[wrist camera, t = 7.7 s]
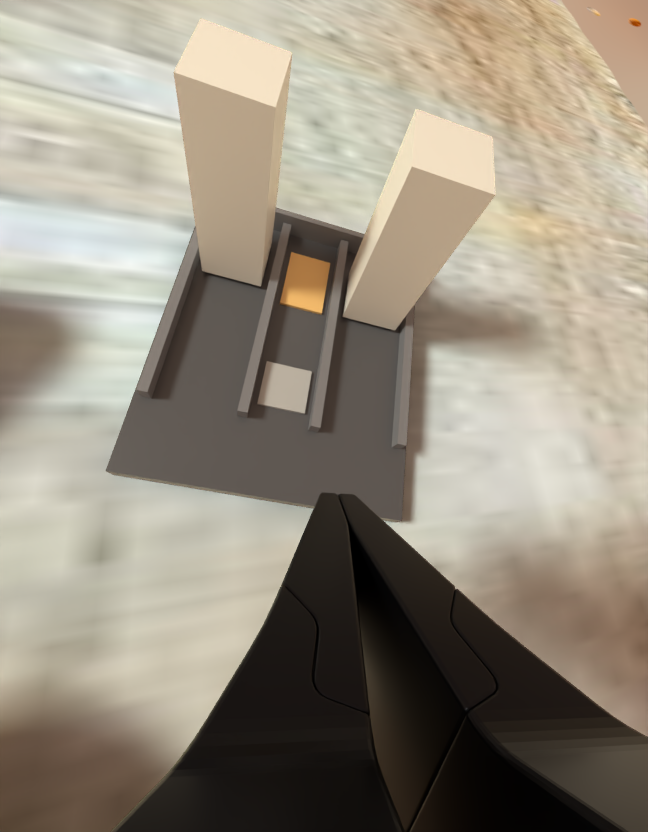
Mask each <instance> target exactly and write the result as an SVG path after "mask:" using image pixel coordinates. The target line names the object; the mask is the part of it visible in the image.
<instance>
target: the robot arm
mask: <svg viewBox="0 0 648 832" xmlns="http://www.w3.org/2000/svg"><path fill="white" fill-rule="evenodd" d="M111 832H648V737H647V736H645V735H643V734H641V733H639V732H638V731H636V730H634V729H632V728H630V727H629V726H627V725H626V724H624V723H623V722H621V721H620V720H618V719H616V718H615V717H613V716H612V715H611V714H609V713H608V712H607V711H605V710H604V709H603V708H601V707H600V706H599V705H597V704H596V703H595V702H594V701H592V700H591V699H590V698H589V697H587V696H586V695H585V694H584V693H582V692H581V691H580V690H579V689H577V688H576V687H575V686H574V685H572V684H571V683H570V682H569V681H567V680H566V679H565V678H563V677H562V676H561V675H560V674H558V673H557V672H556V671H555V670H553V669H552V668H551V667H550V666H548V665H547V664H546V663H545V662H543V661H542V660H541V659H540V658H538V657H537V656H536V655H535V654H533V653H532V652H531V651H529V650H528V649H527V648H526V647H524V646H523V645H522V644H521V643H520V642H518V641H517V640H516V639H515V638H513V637H512V636H511V635H510V634H509V633H507V632H506V631H505V630H504V629H503V628H501V627H500V626H499V625H498V624H496V623H495V622H494V621H493V620H492V619H491V618H490V617H488V616H487V615H486V614H485V613H484V612H483V611H482V610H481V609H479V608H478V607H477V606H476V605H475V604H474V603H473V602H471V601H470V600H469V599H468V598H467V597H466V596H465V595H464V594H463V593H462V592H461V591H459V590H458V589H456V590H455V586H454V585H453V584H452V583H451V582H450V581H448V580H447V579H446V578H445V577H444V576H443V575H442V574H441V573H440V572H439V571H438V570H436V569H435V568H434V567H433V566H432V565H431V564H430V563H429V562H428V561H427V560H426V559H424V558H423V557H422V556H421V555H420V554H419V553H418V552H417V551H416V550H415V549H414V548H412V547H411V546H410V545H409V544H408V543H407V542H406V541H405V540H404V539H403V538H402V537H401V536H399V535H398V534H397V533H396V532H395V531H394V530H393V529H392V528H391V527H390V526H389V525H387V524H386V523H385V522H384V521H383V520H382V519H381V518H380V517H379V516H378V515H377V514H375V513H374V512H373V511H372V510H371V509H370V508H369V507H368V506H367V505H366V504H365V503H363V502H362V501H361V500H360V499H359V498H358V497H357V496H356V495H354V494H338V495H337V494H336V493H324V492H323V493H321V494H320V495H319V497H318V500H317V502H316V505H315V507H314V509H313V512H312V514H311V516H310V519H309V521H308V523H307V526H306V528H305V531H304V533H303V535H302V538H301V540H300V542H299V545H298V547H297V550H296V552H295V554H294V557H293V559H292V561H291V564H290V566H289V568H288V571H287V573H286V576H285V578H284V580H283V583H282V585H281V587H280V589H279V591H278V594H277V596H276V598H275V601H274V603H273V605H272V607H271V609H270V611H269V614H268V616H267V618H266V620H265V622H264V624H263V626H262V628H261V629H260V631H259V633H258V635H257V637H256V638H255V640H254V642H253V644H252V645H251V647H250V649H249V651H248V652H247V654H246V656H245V657H244V659H243V661H242V662H241V664H240V665H239V667H238V669H237V670H236V672H235V674H234V675H233V677H232V679H231V680H230V682H229V683H228V685H227V687H226V688H225V690H224V692H223V693H222V695H221V697H220V698H219V700H218V701H217V703H216V705H215V706H214V708H213V710H212V711H211V713H210V715H209V716H208V718H207V719H206V721H205V723H204V724H203V726H202V727H201V729H200V730H199V732H198V733H197V735H196V736H195V738H194V739H193V741H192V742H191V744H190V745H189V747H188V748H187V750H186V751H185V752H184V754H183V755H182V756H181V758H180V759H179V760H178V762H177V763H176V764H175V765H174V767H173V768H172V769H171V770H170V771H169V773H168V774H167V775H166V776H165V777H164V778H163V779H162V780H161V781H160V782H159V783H158V784H157V785H156V786H155V787H154V788H153V789H152V790H151V791H150V792H149V793H148V794H147V795H146V796H145V797H144V798H143V799H142V800H141V801H140V802H139V803H138V804H137V805H136V806H135V807H134V808H133V809H132V810H131V811H130V812H129V813H128V815H127V816H126V817H125V818H124V819H123V820H122V821H121V822H120V823H119V824H118V825H117V826H116V827H115V828H114V829H113V830H112V831H111Z"/></svg>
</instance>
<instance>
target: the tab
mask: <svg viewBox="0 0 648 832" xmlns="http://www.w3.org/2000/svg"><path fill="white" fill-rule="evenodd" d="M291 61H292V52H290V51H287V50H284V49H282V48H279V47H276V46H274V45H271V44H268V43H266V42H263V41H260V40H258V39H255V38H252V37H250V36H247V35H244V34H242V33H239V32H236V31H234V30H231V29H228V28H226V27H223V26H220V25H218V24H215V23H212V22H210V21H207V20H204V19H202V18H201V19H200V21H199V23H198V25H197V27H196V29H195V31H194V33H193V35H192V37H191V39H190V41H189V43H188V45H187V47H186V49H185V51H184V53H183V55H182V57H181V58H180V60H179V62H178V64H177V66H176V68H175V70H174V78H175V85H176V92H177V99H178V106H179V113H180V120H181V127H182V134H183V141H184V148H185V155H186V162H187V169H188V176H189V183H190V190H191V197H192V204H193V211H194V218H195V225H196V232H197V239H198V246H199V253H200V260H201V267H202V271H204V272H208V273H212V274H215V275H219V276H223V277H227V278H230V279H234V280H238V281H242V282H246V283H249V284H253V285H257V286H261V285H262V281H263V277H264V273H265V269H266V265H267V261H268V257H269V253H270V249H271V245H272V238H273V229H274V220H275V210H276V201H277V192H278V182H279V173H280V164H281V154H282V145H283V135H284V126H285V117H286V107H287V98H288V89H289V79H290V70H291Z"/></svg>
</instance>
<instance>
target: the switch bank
mask: <svg viewBox="0 0 648 832" xmlns="http://www.w3.org/2000/svg"><path fill="white" fill-rule="evenodd" d="M364 235H365V234H362V233H358V232H355V231H352V230H348V229H345V228H342V227H339V226H335V225H332V224H329V223H325V222H322V221H319V220H315V219H312V218H309V217H305V216H302V215H299V214H295V213H292V212H289V211H286V210H282V209H279V208H276V210H275V220H274V229H273V238H272V245H271V249H270V253H269V257H268V261H267V265H266V269H265V273H264V277H263V281H262V285H261V286H257V285H253V284H249V283H246V282H242V281H238V280H234V279H230V278H227V277H223V276H219V275H215V274H212V273H208V272H204V271H202V267H201V260H200V253H199V246H198V239H197V232H196V225H195V228H194V231H193V234H192V236H191V239H190V242H189V245H188V247H187V250H186V253H185V255H184V258H183V261H182V264H181V266H180V269H179V272H178V275H177V277H176V280H175V283H174V286H173V288H172V291H171V294H170V297H169V299H168V302H167V305H166V307H165V310H164V313H163V316H162V318H161V321H160V324H159V327H158V329H157V332H156V335H155V338H154V340H153V343H152V346H151V348H150V351H149V354H148V357H147V359H146V362H145V365H144V368H143V370H142V373H141V376H140V379H139V381H138V384H137V387H136V390H135V392H134V395H133V398H132V400H131V403H130V406H129V409H128V411H127V414H126V417H125V420H124V422H123V425H122V428H121V431H120V433H119V436H118V439H117V441H116V444H115V447H114V450H113V452H112V455H111V458H110V461H109V463H108V466H107V469H106V471H107V472H109V473H111V474H113V475H118V476H124V477H130V478H136V479H142V480H148V481H153V482H159V483H165V484H171V485H177V486H183V487H189V488H195V489H201V490H207V491H213V492H219V493H225V494H231V495H237V496H243V497H249V498H255V499H260V500H266V501H272V502H278V503H284V504H290V505H296V506H302V507H308V508H314V507H315V505H316V502H317V500H318V497H319V495H320V494H321V493H323V492H324V493H336V494H337V495H338V494H354V495H356V496H357V497H358V498H359V499H360V500H361V501H362V502H363V503H365V504H366V505H367V506H368V507H369V508H370V509H371V510H372V511H373V512H374V513H375V514H377V515H378V516H379V517H380V518H381V519H382V520H385V521H391V522H398V521H402V507H403V489H404V472H405V454H406V446H407V431H408V414H409V396H410V379H411V361H412V344H413V326H414V309H415V304H414V306H413V307H412V308H411V310H410V311H409V312H408V314H407V315H406V316H405V318H404V319H403V320H402V322H401V323H400V325H399V326H398V327H397V329H396V330H391V329H387V328H384V327H380V326H376V325H372V324H368V323H364V322H360V321H357V320H353V319H349V318H345V317H343V311H344V304H345V297H346V290H347V283H348V276H349V272H350V269H351V267H352V264H353V262H354V259H355V257H356V255H357V252H358V250H359V247H360V245H361V242H362V240H363V237H364Z"/></svg>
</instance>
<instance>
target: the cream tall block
mask: <svg viewBox="0 0 648 832" xmlns="http://www.w3.org/2000/svg"><path fill="white" fill-rule="evenodd" d="M495 195H496V194H495V174H494V155H493V137H491V136H489V135H486V134H483V133H480V132H478V131H475V130H472V129H470V128H467V127H464V126H462V125H459V124H456V123H453V122H451V121H448V120H445V119H443V118H440V117H437V116H435V115H432V114H429V113H426V112H424V111H421V110H418V109H416V110H415V112H414V115H413V117H412V120H411V122H410V125H409V127H408V130H407V132H406V135H405V137H404V139H403V142H402V144H401V147H400V149H399V152H398V154H397V157H396V159H395V161H394V164H393V166H392V169H391V171H390V174H389V176H388V179H387V181H386V184H385V186H384V188H383V191H382V193H381V196H380V198H379V201H378V203H377V206H376V208H375V210H374V213H373V215H372V218H371V220H370V223H369V225H368V228H367V230H366V233H365V235H364V237H363V240H362V242H361V245H360V247H359V250H358V252H357V255H356V257H355V259H354V262H353V264H352V267H351V269H350V272H349V276H348V283H347V290H346V297H345V304H344V311H343V317H345V318H349V319H353V320H357V321H360V322H364V323H368V324H372V325H376V326H380V327H384V328H387V329H391V330H396V329H397V327H398V326H399V325H400V323H401V322H402V320H403V319H404V318H405V316H406V315H407V314H408V312H409V311H410V310H411V308H412V307H413V306H414V304H415V303H416V302H417V300H418V299H419V298H420V296H421V295H422V294H423V292H424V291H425V289H426V288H427V287H428V285H429V284H430V283H431V281H432V280H433V279H434V277H435V276H436V275H437V273H438V272H439V271H440V269H441V268H442V267H443V265H444V264H445V263H446V261H447V260H448V258H449V257H450V256H451V254H452V253H453V252H454V250H455V249H456V248H457V246H458V245H459V244H460V242H461V241H462V240H463V238H464V237H465V236H466V234H467V233H468V231H469V230H470V229H471V227H472V226H473V225H474V223H475V222H476V221H477V219H478V218H479V217H480V215H481V214H482V213H483V211H484V210H485V209H486V207H487V206H488V205H489V203H490V202H491V200H492V199H493V198H494V196H495Z"/></svg>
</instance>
